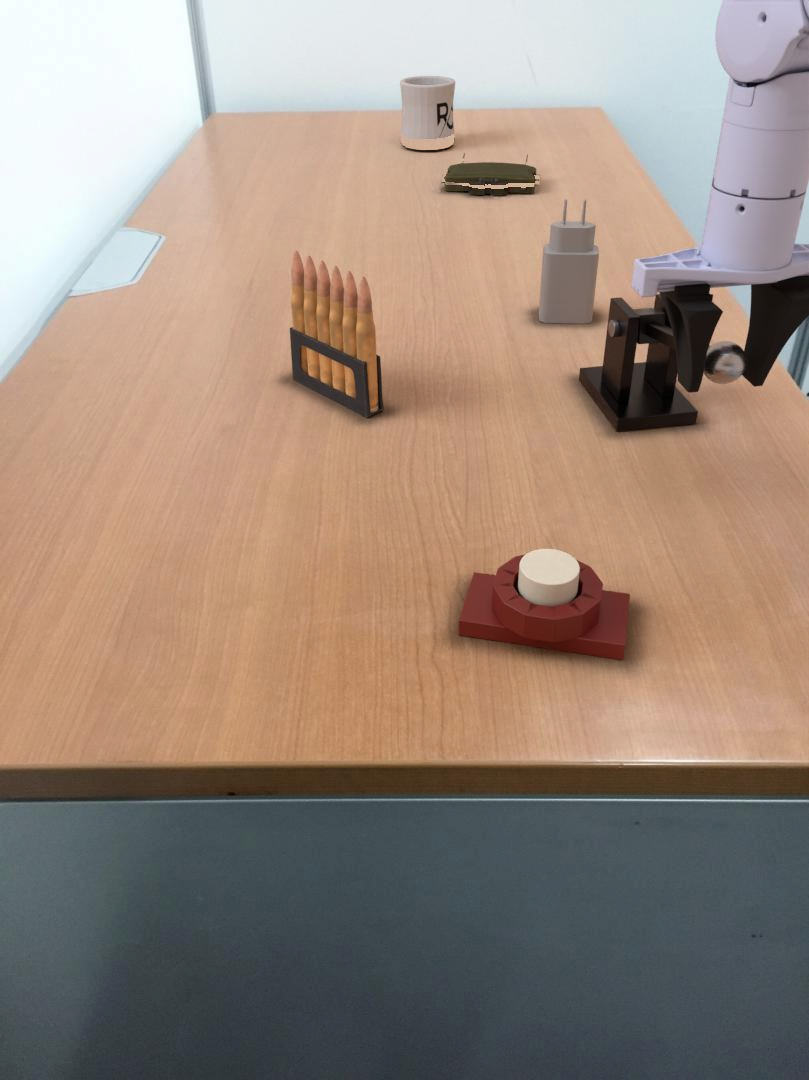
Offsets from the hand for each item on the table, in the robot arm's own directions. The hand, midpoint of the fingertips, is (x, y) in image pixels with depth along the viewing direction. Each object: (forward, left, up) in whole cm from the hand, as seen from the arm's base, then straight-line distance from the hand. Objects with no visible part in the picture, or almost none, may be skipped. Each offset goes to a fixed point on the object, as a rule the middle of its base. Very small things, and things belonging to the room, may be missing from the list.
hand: (719, 383), depth 68 cm
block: (+10, +19, -8) cm, 23 cm away
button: (+9, +19, -6) cm, 22 cm away
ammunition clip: (+32, -8, -8) cm, 34 cm away
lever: (+3, -6, -1) cm, 7 cm away
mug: (+43, -100, -8) cm, 109 cm away
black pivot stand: (+6, -12, -8) cm, 16 cm away
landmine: (+30, -79, -8) cm, 85 cm away
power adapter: (+14, -30, -8) cm, 34 cm away
